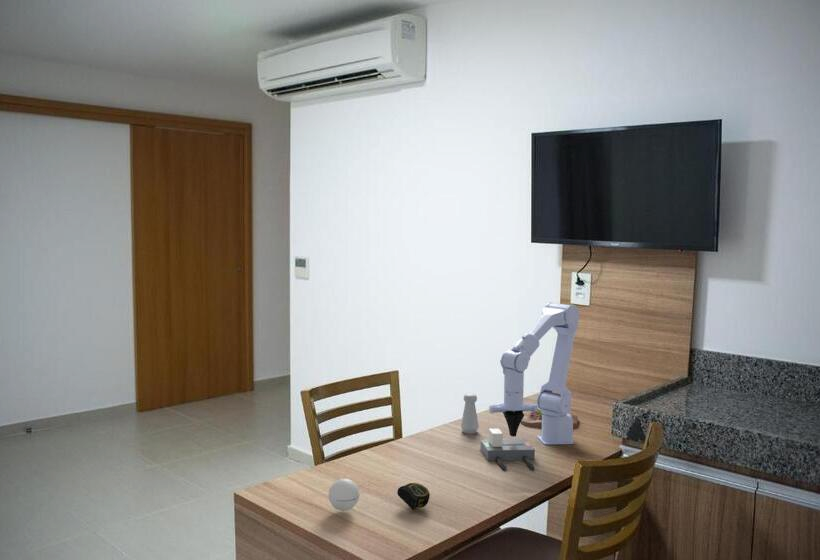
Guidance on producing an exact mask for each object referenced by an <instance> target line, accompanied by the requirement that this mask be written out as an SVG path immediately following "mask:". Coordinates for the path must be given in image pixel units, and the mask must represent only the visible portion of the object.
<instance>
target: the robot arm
mask: <svg viewBox="0 0 820 560" xmlns="http://www.w3.org/2000/svg"><path fill="white" fill-rule="evenodd" d="M580 315H581V314H580V312H579V309H578V308H577V306H576V305H574V304H566V303H556V302H548V303H546V304H545V306H544V308H542V311H541V317H540V319H538V321H537V323H536V324H535V326H534V327H533V328H532V330H531V331H530V332H529V333H524V334H522V336H521V337H520V339H519V340H518V341H517V342H516V343H515V344H514V346H513V347H512V348H511V349H510V350H506V351H505V352H504V353H503V354H502V356H501V359H499V360H500V361H499V362H500V366H501V368H502V373H503V375H504V377H503V379H504V380H503V385H504V386H503V403H501V404H492V405H489V406H488V409H489V410H488V412H489V413H490V414H495V413H497V414H498V413H502V414H503V416H504V418H505V421H506V424H507V427H508V433H509V435H510V436H511V437H517V433H518V429H519V426H520V425H521V421H522V419H523V417H524V414H525V413H523V412H528V411H534V412H537V408H538V409H539V410H540V412H541V413H542V429H541V435H537V437H536V438H537V439H539V441H540V442H541V443H542V444H544V445H545V446H547V445H573V444H574V442H573V441H574V440H573V439H574V438H573V437H574V436H573V435H574V428H573V419H572V416H571V414H572V413H571V414H568V413H570V411H571V409H572V394H573V393H572V392H571V390H570V389H569V388H568V387H567V385H566V383H567V378H568V373H569V367H570V363H571V358H572V357H571V356H572V353H573V352H572V351H573V347H574V346H573V345H574V342H575V336H576V332H577V331H578V325H579V322H580ZM551 329H553V330H555V331H556V333H557V336H556V337H557V338H556V343H555V346H554V347H555V348H554V352H553V357H552V362H551V363H552V364H551V367H550V373H549V378H548V381H547V382H546V383H545V384H543V385H541V387H540V391H539V394H538V395H537V398H536V403H525V402H524V381H525V380H524V379H525V371H526V370H527V369H528V367H529V363H530V361H531V357H532V356H533V354H534V353H535V352H536V351H537V350H538V348H539V346H540V340H541V339H542V338H543V337H544V336H545V335H546V334H547V333H548V332H550V330H551ZM552 392H553V393H552Z"/></svg>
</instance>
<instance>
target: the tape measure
mask: <svg viewBox="0 0 820 560" xmlns="http://www.w3.org/2000/svg"><path fill="white" fill-rule="evenodd" d="M430 495H431V494H430V491H429V489H428V488H427V486H425V485H423V484H420V483H418V482H411V483H410V482H409V483H407V484H405V485H402V486H400V487H399V488H398V489H397V496H398V497H399V498H400V499H401V500H402V501H403V502H404V503H405V504H406V505H408V507H409V508H410V509H411V510H416V509H421V508H424V507H426V505H427V504H428V503H429V501H430Z"/></svg>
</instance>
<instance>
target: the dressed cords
mask: <svg viewBox="0 0 820 560" xmlns="http://www.w3.org/2000/svg"><path fill="white" fill-rule="evenodd" d="M495 461H497V463H498V464H499V466H500V468H501V469H502V470H503V471H506V470H508V467H507V466H506V464H505V463H504V460H501V459H500V457H498V456H497V457H496V460H495ZM522 461H524V462H525V464H526V465H527V466H528V467H529V469H530V470H534V469H535V465H534V464H533V463H532V461H530V460H529V459H528V458H527V457H526V456H523V460H522Z"/></svg>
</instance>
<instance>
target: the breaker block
mask: <svg viewBox="0 0 820 560" xmlns="http://www.w3.org/2000/svg"><path fill="white" fill-rule="evenodd" d="M535 451H536V450H535V448H534V447H533V446H532V444H530V442H529V441H528V440H527V439H526V438H521V439H519V438H518V439H517V438H514V439H513V438H510V439H503V447H492V446H491V444H490V443H489V439H480V452H481V453H482V454H483V456H484V458H485V459H486V460H487V461H488V462H489V461H491V462H492V461H497V460H496V457H497V456H498V457H500V459H501V460H502V461H524V460H523V456H526V457H527V458H528V459H529V461H530V460H531V461H532V460H533V461H534V460H535V458H536V455H535V454H536V452H535Z"/></svg>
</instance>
